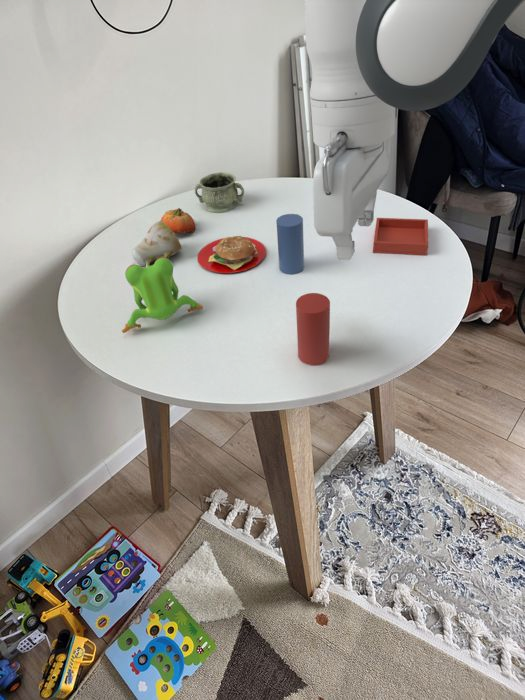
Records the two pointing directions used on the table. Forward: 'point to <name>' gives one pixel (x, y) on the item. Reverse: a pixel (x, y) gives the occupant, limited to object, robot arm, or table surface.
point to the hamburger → (231, 254)
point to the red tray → (401, 236)
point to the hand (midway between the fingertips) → (356, 239)
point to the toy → (155, 292)
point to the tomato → (178, 221)
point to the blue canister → (290, 243)
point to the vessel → (219, 192)
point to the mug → (156, 245)
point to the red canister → (313, 328)
